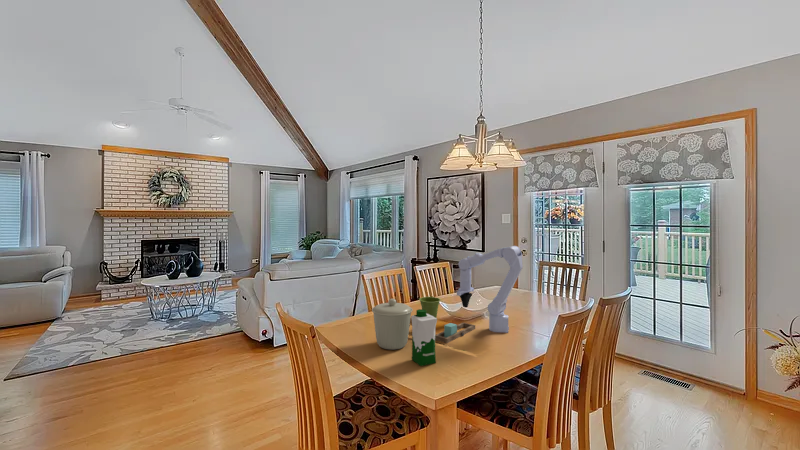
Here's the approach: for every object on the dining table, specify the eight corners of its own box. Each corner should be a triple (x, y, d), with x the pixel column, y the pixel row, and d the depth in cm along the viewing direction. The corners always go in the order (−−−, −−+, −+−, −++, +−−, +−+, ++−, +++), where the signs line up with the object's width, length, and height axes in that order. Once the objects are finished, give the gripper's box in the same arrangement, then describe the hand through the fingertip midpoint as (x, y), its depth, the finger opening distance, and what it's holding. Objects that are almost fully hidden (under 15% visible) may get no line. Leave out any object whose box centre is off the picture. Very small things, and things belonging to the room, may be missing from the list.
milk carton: (427, 355, 151) (427, 307, 150) (439, 363, 143) (439, 313, 142) (408, 359, 147) (409, 310, 146) (420, 367, 139) (420, 316, 138)
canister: (366, 341, 167) (366, 296, 166) (402, 336, 174) (402, 292, 173) (380, 356, 150) (380, 305, 149) (419, 349, 157) (419, 301, 156)
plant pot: (415, 317, 205) (415, 297, 204) (433, 315, 210) (433, 295, 209) (425, 323, 194) (425, 302, 194) (444, 320, 199) (444, 300, 199)
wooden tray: (461, 327, 187) (462, 322, 187) (476, 331, 182) (476, 325, 182) (433, 341, 167) (433, 334, 167) (448, 345, 162) (448, 339, 162)
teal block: (449, 334, 174) (450, 322, 174) (456, 336, 172) (456, 324, 171) (444, 336, 170) (444, 325, 170) (451, 338, 168) (451, 327, 168)
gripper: (465, 278, 198) (465, 303, 199) (451, 282, 187) (451, 308, 188) (477, 280, 194) (477, 305, 194) (463, 284, 183) (463, 310, 183)
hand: (465, 306), depth 191 cm, fingers closed
